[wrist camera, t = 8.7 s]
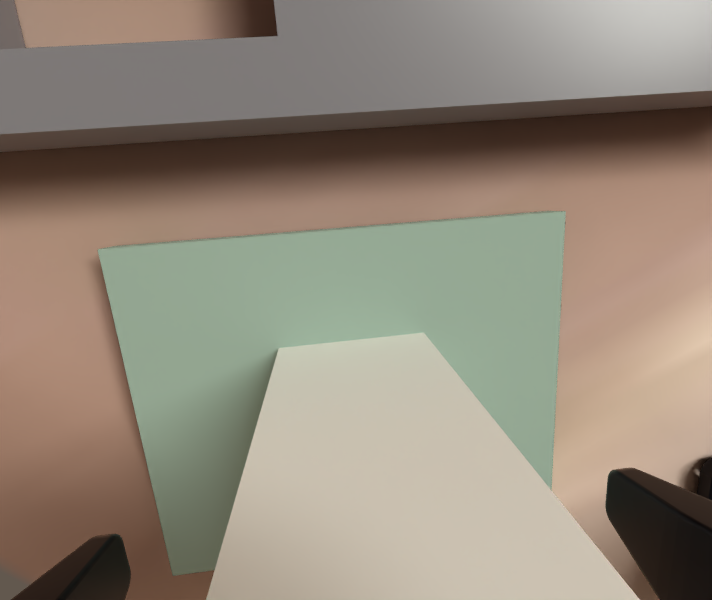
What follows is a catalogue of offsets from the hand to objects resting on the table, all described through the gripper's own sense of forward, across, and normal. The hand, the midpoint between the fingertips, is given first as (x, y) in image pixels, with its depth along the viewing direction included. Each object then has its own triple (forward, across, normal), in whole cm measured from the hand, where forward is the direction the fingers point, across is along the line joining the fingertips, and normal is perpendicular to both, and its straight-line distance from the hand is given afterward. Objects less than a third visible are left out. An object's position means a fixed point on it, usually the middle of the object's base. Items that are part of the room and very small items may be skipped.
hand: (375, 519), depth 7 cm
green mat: (+5, 0, 0) cm, 5 cm away
